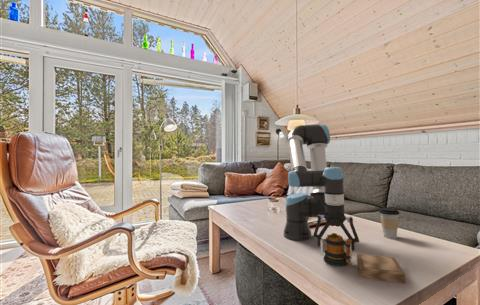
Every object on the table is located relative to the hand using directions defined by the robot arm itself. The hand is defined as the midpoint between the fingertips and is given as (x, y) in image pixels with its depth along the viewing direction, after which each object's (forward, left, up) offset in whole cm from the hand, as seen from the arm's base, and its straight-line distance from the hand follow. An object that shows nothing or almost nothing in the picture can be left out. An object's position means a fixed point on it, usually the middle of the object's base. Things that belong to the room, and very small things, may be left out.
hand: (335, 256), depth 98 cm
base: (+15, -3, -2) cm, 16 cm away
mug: (+1, 0, -3) cm, 3 cm away
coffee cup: (+27, +40, -3) cm, 49 cm away
